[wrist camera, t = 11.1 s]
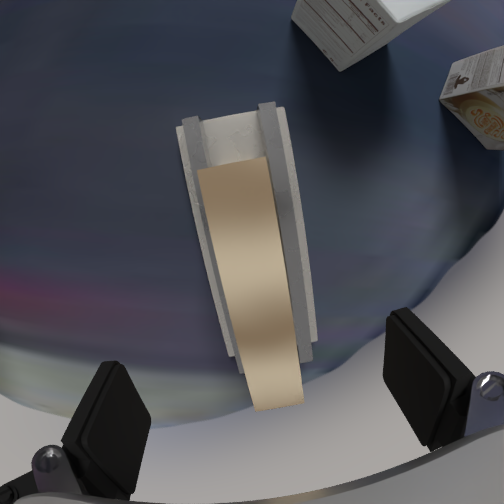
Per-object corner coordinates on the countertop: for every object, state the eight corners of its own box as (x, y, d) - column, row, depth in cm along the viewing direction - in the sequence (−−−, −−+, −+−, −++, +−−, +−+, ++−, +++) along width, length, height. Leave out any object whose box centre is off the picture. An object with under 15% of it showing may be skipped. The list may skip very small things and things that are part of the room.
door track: (180, 129, 25) (167, 123, 20) (281, 110, 25) (289, 99, 20) (229, 345, 31) (228, 375, 27) (313, 330, 31) (324, 357, 26)
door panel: (218, 166, 24) (196, 170, 13) (254, 159, 24) (265, 156, 13) (250, 318, 28) (255, 411, 17) (281, 312, 28) (304, 402, 17)
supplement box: (342, -9, 21) (389, -76, 9) (388, 44, 23) (461, -2, 11) (287, 18, 22) (315, -59, 10) (337, 74, 24) (400, 25, 12)
